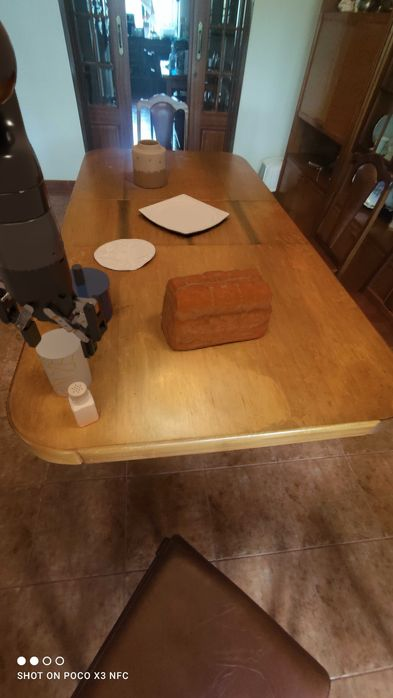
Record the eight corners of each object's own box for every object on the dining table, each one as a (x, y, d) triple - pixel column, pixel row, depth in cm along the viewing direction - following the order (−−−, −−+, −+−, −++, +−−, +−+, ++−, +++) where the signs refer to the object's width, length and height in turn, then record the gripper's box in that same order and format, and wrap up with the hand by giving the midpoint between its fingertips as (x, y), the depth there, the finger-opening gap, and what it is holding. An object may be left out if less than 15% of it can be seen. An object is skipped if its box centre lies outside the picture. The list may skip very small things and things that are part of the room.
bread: (270, 338, 82) (286, 290, 71) (170, 355, 76) (171, 305, 65) (249, 304, 91) (260, 258, 81) (158, 317, 85) (157, 268, 74)
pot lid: (56, 309, 71) (49, 289, 67) (47, 276, 79) (40, 256, 75) (116, 296, 76) (114, 276, 72) (102, 266, 84) (99, 247, 80)
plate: (133, 216, 126) (132, 209, 124) (183, 198, 141) (183, 192, 139) (185, 243, 114) (185, 236, 112) (233, 220, 129) (234, 214, 127)
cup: (44, 392, 66) (26, 353, 58) (65, 363, 72) (50, 324, 63) (80, 401, 65) (67, 363, 57) (98, 371, 71) (88, 333, 62)
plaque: (167, 251, 108) (167, 247, 107) (127, 278, 96) (127, 274, 95) (123, 235, 116) (123, 231, 115) (81, 259, 104) (80, 255, 103)
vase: (170, 180, 155) (170, 140, 143) (159, 191, 145) (159, 149, 133) (141, 175, 158) (139, 135, 146) (128, 185, 147) (125, 144, 135)
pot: (67, 336, 78) (57, 305, 71) (58, 305, 86) (49, 275, 79) (118, 323, 82) (113, 293, 75) (105, 295, 90) (100, 266, 83)
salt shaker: (100, 420, 63) (91, 392, 56) (79, 429, 61) (68, 401, 54) (93, 405, 65) (84, 376, 58) (74, 413, 63) (62, 384, 57)
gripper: (-55, 256, 33) (3, 358, 45) (73, 278, 32) (98, 377, 44) (-10, 224, 38) (32, 324, 50) (102, 243, 37) (118, 340, 49)
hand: (63, 349), depth 47 cm, fingers open, 8 cm apart
